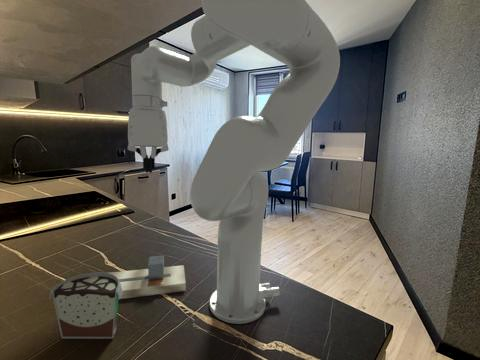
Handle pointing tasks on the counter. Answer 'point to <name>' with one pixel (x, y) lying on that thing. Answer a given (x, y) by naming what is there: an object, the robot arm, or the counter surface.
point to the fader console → (151, 282)
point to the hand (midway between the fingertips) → (149, 171)
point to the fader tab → (156, 267)
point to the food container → (87, 305)
